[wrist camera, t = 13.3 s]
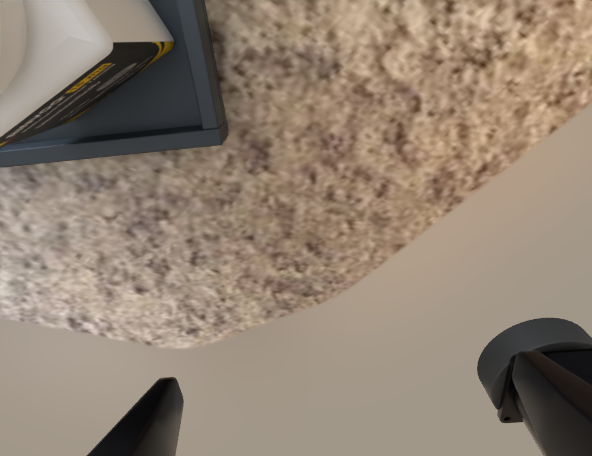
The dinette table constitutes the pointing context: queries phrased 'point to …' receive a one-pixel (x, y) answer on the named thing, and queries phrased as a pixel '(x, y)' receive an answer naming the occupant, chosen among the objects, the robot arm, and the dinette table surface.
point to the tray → (145, 103)
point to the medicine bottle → (70, 58)
